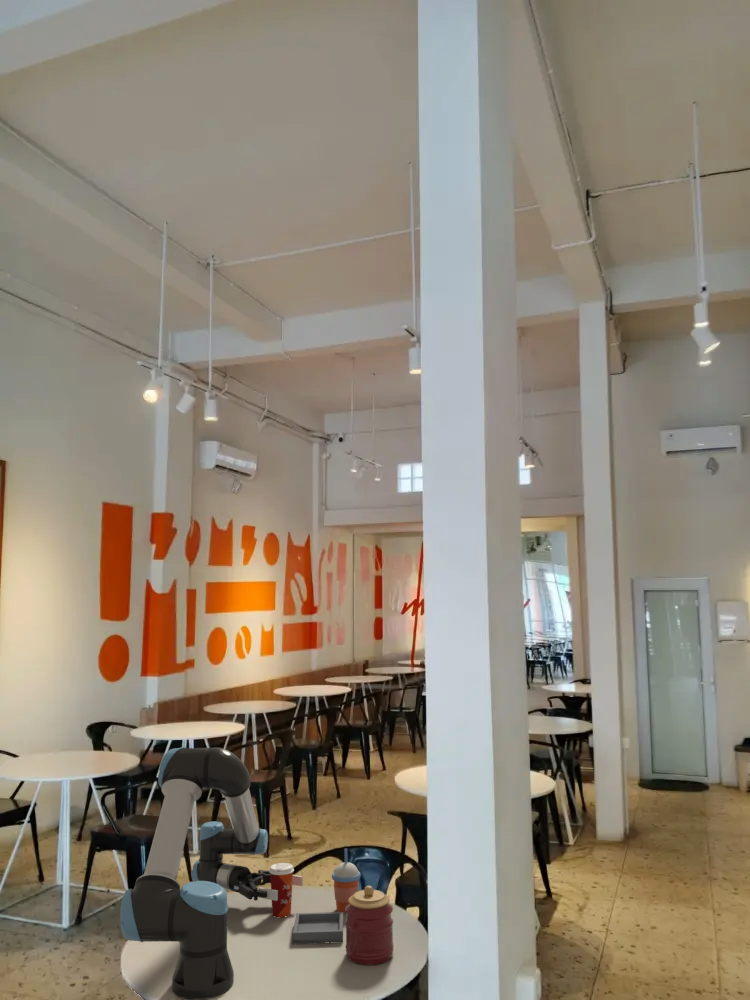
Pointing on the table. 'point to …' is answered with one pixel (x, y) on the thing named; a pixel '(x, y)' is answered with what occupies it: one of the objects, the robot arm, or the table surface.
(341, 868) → the cup with straw
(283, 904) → the paper cup
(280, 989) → the table surface
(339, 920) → the tray
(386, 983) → the table surface
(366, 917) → the canister
